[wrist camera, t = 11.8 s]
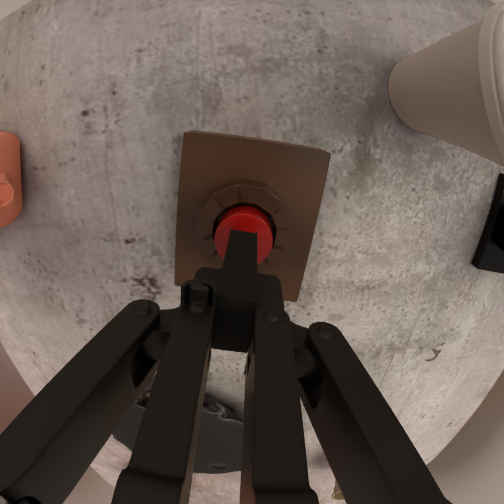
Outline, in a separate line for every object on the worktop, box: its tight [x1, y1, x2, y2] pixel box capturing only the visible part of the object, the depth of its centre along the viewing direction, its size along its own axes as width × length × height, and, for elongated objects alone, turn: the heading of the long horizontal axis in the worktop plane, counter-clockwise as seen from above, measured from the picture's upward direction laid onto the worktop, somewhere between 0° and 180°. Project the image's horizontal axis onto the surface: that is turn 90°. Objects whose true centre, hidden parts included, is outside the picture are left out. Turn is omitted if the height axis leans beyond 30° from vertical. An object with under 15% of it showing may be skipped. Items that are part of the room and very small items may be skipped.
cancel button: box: [214, 206, 273, 264], centre depth 19 cm, size 4×4×2 cm
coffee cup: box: [388, 2, 504, 167], centre depth 12 cm, size 10×10×15 cm
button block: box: [175, 131, 331, 302], centre depth 22 cm, size 12×10×4 cm
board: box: [112, 390, 243, 474], centre depth 33 cm, size 22×22×5 cm
